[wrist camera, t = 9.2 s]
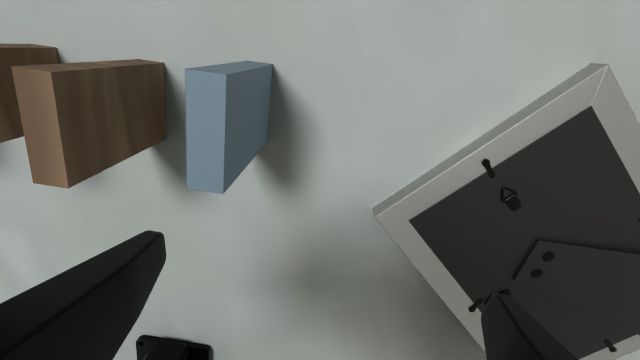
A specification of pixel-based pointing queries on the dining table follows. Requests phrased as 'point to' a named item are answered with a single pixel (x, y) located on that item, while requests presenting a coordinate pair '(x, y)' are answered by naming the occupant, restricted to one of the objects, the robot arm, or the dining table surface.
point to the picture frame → (538, 218)
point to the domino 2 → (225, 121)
